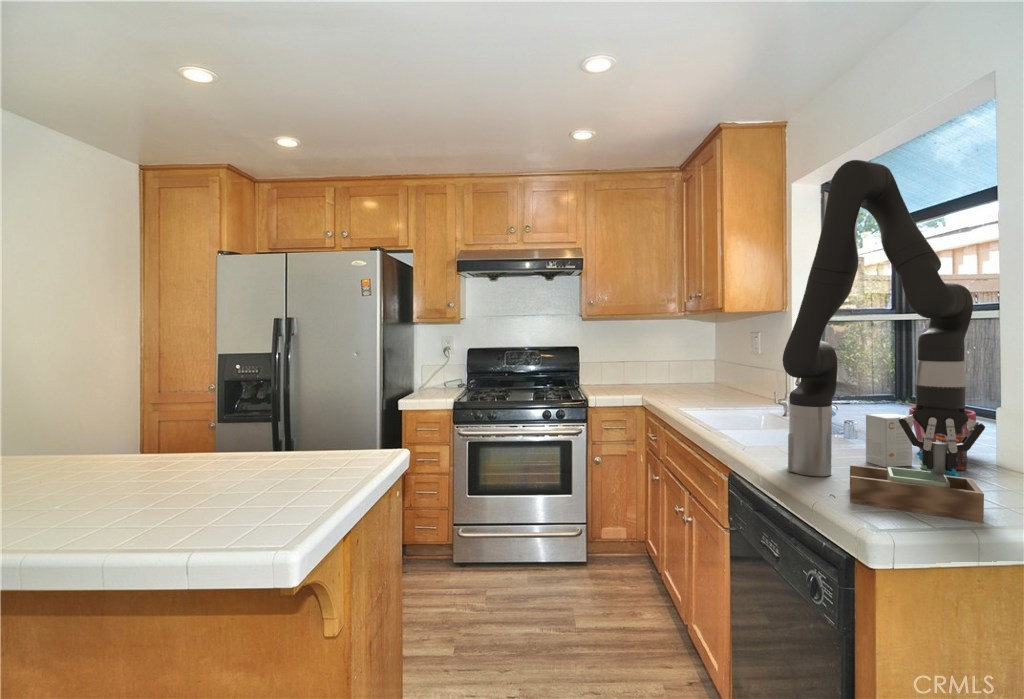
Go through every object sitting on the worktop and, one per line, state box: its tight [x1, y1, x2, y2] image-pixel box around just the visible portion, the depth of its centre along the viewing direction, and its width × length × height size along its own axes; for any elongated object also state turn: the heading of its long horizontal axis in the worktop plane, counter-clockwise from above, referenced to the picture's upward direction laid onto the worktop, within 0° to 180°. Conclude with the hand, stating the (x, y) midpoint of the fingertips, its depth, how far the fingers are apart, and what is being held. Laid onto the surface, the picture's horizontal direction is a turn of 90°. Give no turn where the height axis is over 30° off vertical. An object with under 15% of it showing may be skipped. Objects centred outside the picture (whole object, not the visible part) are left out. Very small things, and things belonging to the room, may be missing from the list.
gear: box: [916, 450, 963, 477], centre depth 115 cm, size 11×6×10 cm
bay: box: [849, 464, 985, 523], centre depth 101 cm, size 20×11×5 cm, turn 56°
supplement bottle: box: [936, 427, 968, 471], centre depth 126 cm, size 6×6×11 cm
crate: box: [886, 442, 950, 488], centre depth 101 cm, size 9×8×12 cm
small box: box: [865, 413, 913, 469], centre depth 131 cm, size 8×6×13 cm
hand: (938, 468), depth 99 cm, fingers closed on crate, 2 cm apart
